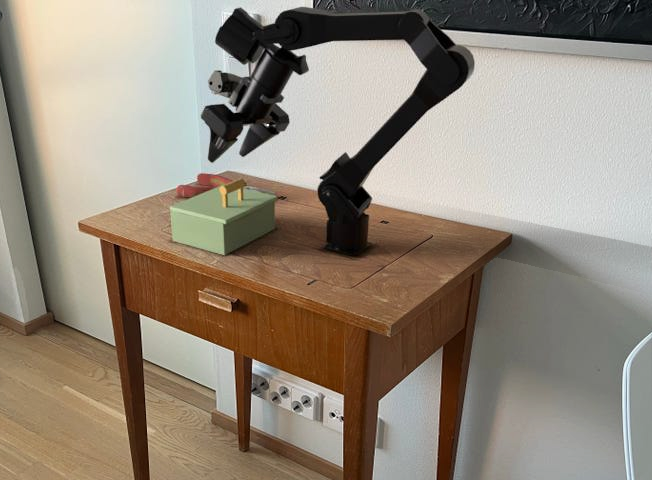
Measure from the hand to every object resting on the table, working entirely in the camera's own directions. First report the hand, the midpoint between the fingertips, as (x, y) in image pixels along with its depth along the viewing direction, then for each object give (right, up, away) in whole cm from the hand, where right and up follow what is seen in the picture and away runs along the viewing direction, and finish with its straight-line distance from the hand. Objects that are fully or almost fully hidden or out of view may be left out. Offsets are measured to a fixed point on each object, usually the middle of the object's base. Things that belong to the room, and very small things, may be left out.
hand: (226, 158), depth 129 cm
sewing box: (-1, -13, +5) cm, 14 cm away
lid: (0, -8, +2) cm, 8 cm away
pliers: (-3, -2, +24) cm, 24 cm away
